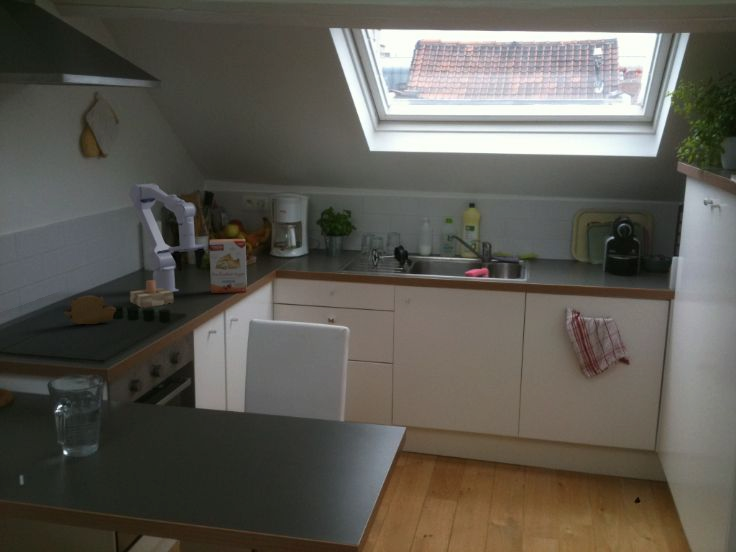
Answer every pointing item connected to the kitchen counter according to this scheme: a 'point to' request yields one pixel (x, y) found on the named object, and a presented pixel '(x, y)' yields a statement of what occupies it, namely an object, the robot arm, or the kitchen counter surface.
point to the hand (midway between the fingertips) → (189, 269)
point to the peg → (151, 286)
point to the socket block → (151, 297)
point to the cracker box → (228, 265)
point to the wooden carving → (90, 310)
